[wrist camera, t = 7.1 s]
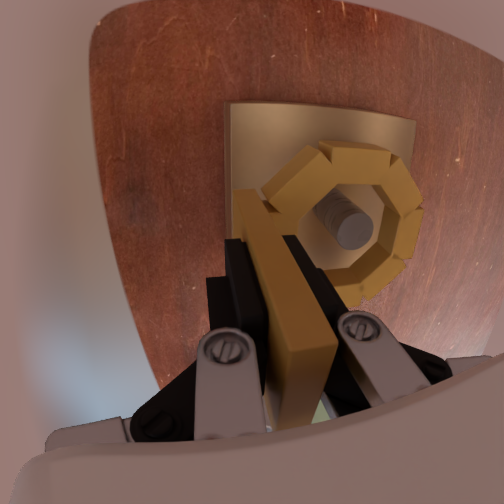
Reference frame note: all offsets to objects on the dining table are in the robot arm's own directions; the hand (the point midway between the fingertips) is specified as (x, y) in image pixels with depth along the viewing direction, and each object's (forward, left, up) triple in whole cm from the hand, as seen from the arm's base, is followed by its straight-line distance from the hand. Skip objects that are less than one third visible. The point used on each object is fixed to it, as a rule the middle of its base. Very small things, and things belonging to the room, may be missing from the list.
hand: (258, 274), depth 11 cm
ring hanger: (+5, 0, -4) cm, 6 cm away
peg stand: (+5, 0, -11) cm, 12 cm away
